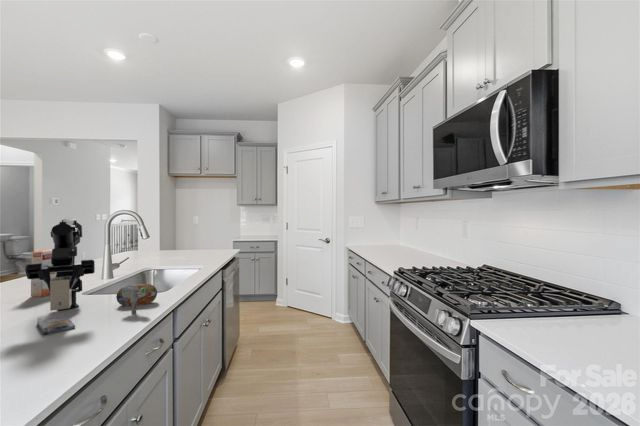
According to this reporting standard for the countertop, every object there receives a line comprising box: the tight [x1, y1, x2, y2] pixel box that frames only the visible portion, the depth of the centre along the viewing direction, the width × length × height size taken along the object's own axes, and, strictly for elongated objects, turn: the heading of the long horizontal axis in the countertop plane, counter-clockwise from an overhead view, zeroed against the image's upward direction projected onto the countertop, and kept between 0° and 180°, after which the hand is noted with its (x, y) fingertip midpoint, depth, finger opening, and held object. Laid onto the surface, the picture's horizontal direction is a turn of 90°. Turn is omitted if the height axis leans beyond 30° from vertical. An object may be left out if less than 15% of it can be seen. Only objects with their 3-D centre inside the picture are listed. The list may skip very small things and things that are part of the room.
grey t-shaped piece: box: [120, 285, 147, 314], centre depth 122 cm, size 3×10×10 cm, turn 79°
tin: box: [116, 283, 158, 307], centre depth 133 cm, size 15×3×8 cm, turn 111°
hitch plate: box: [36, 315, 76, 336], centre depth 107 cm, size 14×8×2 cm, turn 49°
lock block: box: [49, 277, 72, 312], centre depth 107 cm, size 5×5×10 cm
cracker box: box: [30, 248, 57, 298], centre depth 148 cm, size 14×6×21 cm, turn 179°
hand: (60, 289), depth 106 cm, fingers closed on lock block, 5 cm apart
